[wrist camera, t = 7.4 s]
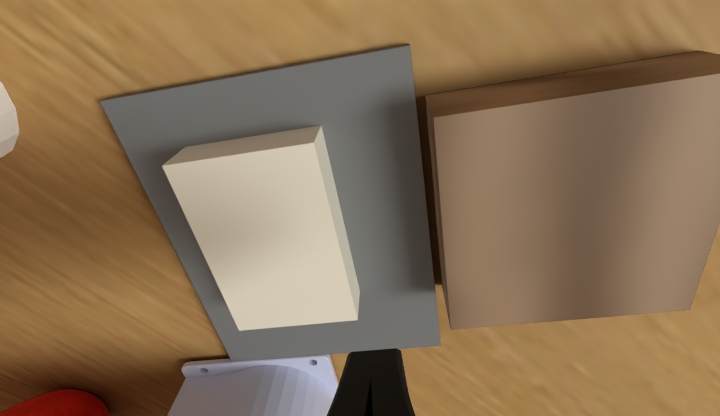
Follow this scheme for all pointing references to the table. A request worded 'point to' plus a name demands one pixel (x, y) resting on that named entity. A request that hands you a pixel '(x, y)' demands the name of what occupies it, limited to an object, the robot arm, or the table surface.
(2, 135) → the white cylinder
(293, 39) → the table surface
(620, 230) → the riser
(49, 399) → the apple
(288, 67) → the mat
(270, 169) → the cream rectangular block
